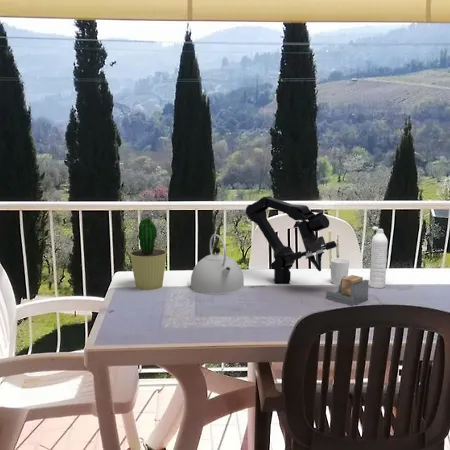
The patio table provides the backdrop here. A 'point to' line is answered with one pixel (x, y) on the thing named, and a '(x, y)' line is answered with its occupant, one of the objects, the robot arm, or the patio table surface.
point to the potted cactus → (148, 258)
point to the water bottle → (378, 259)
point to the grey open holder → (357, 294)
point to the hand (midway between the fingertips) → (320, 271)
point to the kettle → (217, 273)
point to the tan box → (349, 283)
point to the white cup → (339, 270)
